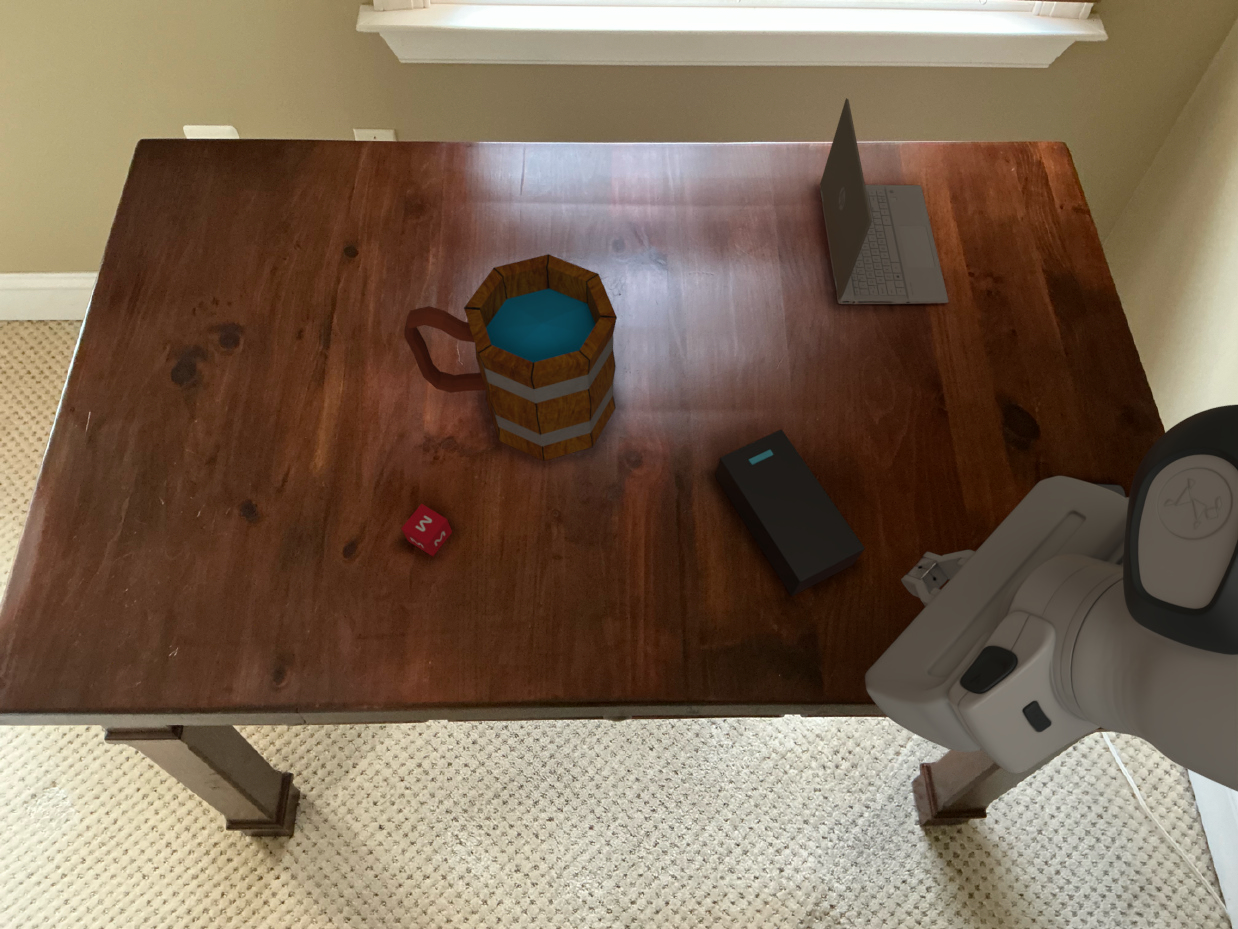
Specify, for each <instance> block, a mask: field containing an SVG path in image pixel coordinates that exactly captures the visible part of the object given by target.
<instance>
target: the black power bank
mask: <svg viewBox="0 0 1238 929" xmlns="http://www.w3.org/2000/svg"><path fill="white" fill-rule="evenodd" d="M714 478H715V479H716V480H717V482H718V484H719V485H720V487H721V488H722V490H723V491H724V493H725V495H726V496H727V498H728V499H729V501H730V503H731V504H732V506H733V507H734V509H735V510H736V512H737V513H738V515H739V516H740V518H741V520H742V521H743V523H744V524H745V526H746V527H747V530H748V531H749V532H750V533H751V536H752V537H753V539H754V541H756V543H757V545H758V546H759V548H760V549H761V552H762V553H763V554H764V556H765V557H766V559H767V560H768V562H769V564H770V565H771V567H772V568H773V570H774V572H775V573H776V575H777V577H778V578H779V580H780V582H782V584H783V586H784V587H785V589H786V590H787V592H788V593H789V595H790V596H791V597H794V596H796V595H798V594H799V593H801V592H803V591H805V590H807V589H809V588H812V587H813V586H815V585H817V584H819V583H822V582H823V581H825V580H827V579H829V578H830V577H832V576H835V575H836V574H838V573H840V572H842V571H844V570H845V569H848V568H850V567H852V566H854V565H855V563H857V560H858V559H859V558H860V556H861V555H862V554H863V552H864V551H865V550H866V547H865V546H864V545H863V543H862V542H861V541H860V539H859V538H858V536H857V534H856V533H855V532H854V531H853V529H852V527H851V526H850V524H849V523H848V522H847V521H846V519H845V518H844V516H843V514H842V513H841V512H840V511H839V509H838V507H837V506H836V505H835V503H834V502H833V500H832V499H831V498H830V496H829V495H828V493H827V492H826V491H825V489H824V488H823V486H822V485H821V483H820V482H819V480H818V479H817V477H816V476H815V475H814V473H813V472H812V470H811V469H810V467H809V466H808V464H807V463H806V462H805V460H804V458H803V457H802V456H801V455H800V453H799V452H798V451H797V449H796V447H795V446H794V445H793V443H792V441H790V439H789V437H788V436H787V435H786V433H785V432H784V430H783V429H782V428H781V429H779V430H777V431H774V432H772V433H769V434H768V435H765V436H763V437H761V438H759V439H757V440H755V441H752V442H750V443H748V444H746V445H744V446H742V447H739V448H738V449H737V448H736V450H734V451H731V452H729V453H727V454H725V455H722V456H720V457H719V460H718V463H717V468H716V471H715V476H714Z"/></svg>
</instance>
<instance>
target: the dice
mask: <svg viewBox="0 0 1238 929" xmlns="http://www.w3.org/2000/svg"><path fill="white" fill-rule="evenodd" d="M401 531H402V533H403V534H404V537H405V538H406V540H407V542H409V543H410V544H412V545H413V546H415V547H417V548H418V549H420V550H422V551H423V552H424V553H426V554H428V555H429V556H431V557H434V556H435V555H436V554H437V553H438V551H439V550H440V549H441V547H442V546H443V545H444V543H445V542H446V541H447V540H448V538H449V537H451V536H450V535H451V534H452V533H453V530H452V527H451V526H450V523H449V521H448V518H446V517H444V516H443V515H441V514H440V513H438V512H437V511H436V510H435V511H434V510H433V509H432V508H430V507H428V506H426V505H425V504H423V503H421V504H420V505H419V506H418V508H416V510H415V511H414V512H413V513H412V514H411V516H410V517H409V518H408V519H407V520H406V522H405V523H404V524H403V525H402V526H401Z"/></svg>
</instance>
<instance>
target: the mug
mask: <svg viewBox="0 0 1238 929" xmlns="http://www.w3.org/2000/svg"><path fill="white" fill-rule="evenodd" d="M463 310H464V313H465V316H466V319H467V321H464V320H461V319H460V318H458V317H456V316H454V315H453V314H451V313H449V312H448V311H446V310H444V309H440V308H437V307H433V306H429V305H427V306H424V307H420V308H416V309H415V308H414V309H411V310H409V312H408V314H407V316H406V320H405V325H404V332H403V333H404V339H405V340H406V343H407V345H408V346H409V348H410V350H411V352H412V354H413V356H414V358H415V361H416V365H417V367H418V369H419V371H420V373H421V376H422V377H423V379H424V380H426V381H427V382H428V383H429V384H430V385H432V387H434V388H435V389H436V390H440V391H444V392H447V393H461V392H477V391H485V402H486V404H487V407H488V410H489V413H490V417H491V420H492V423H493V426H494V430H495V433H496V436H497V440H498V441H499V442H500V443H503V444H505V445H507V446H510V447H512V448H514V449H516V450H518V451H521V452H523V453H525V454H527V455H529V456H532V457H534V458H536V459H538V460H541V461H543V462H545V461H549V460H551V459H555V458H560V457H563V456H566V455H569V454H573V453H577V452H580V451H583V450H587V449H591V448H593V447H594V446H595V444H596V443H597V441H598V440H599V437H600V435H601V434H602V432H603V430H604V429H605V427H606V425H607V423H608V422H609V420H610V418H611V417H612V415H613V413H614V412H615V410H616V409H617V408H616V403H615V399H614V379H615V373H616V368H617V367H616V358H615V352H614V332H615V329H616V323H617V320H618V319H617V318H618V317H617V314H616V312H615V309H614V307H613V304H612V302H611V300H610V298H609V295H608V293H607V291H606V288H605V285H604V283H603V281H602V278H601V276H600V274H599V273H598V272H595V271H592V270H591V269H587V268H585V267H583V266H579V265H577V264H575V263H572V262H570V261H567V260H564V259H563V258H560V257H557V256H554V255H552V254H543V255H539V256H535V257H531V258H527V259H524V260H519V261H514V262H511V263H507V264H503V265H499V266H495V267H493V268H492V269H491V270H490V271H489V273H488V275H487V276H486V277H485V278H484V280H483V281H482V283H481V284H480V285H479V287H478V288H477V289H476V291H475V292H474V293H473V294H472V296H471V298H470V299H469V300H468V302H467V303H466V304H465V306H464V307H463ZM423 326H427V327H430V328H433V329H437V330H441V331H442V332H444V333H446V334H447V335H449V336H451V337H452V338H454V339H456V340H458V341H461V342H468V343H469V342H470V343H474V348H475V359H476V362H477V365H478V368H479V372H468V373H461V374H460V373H459V374H452V373H449V372H444V371H442V370H440V369H439V368H438V367H437V366H436V365H435V364H434V362H433V359H432V357H431V354H430V352H429V349H428V346H427V343H426V341H425V339H424V337H423V335H422V334H421V332H420V330H419V327H423Z"/></svg>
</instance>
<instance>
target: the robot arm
mask: <svg viewBox="0 0 1238 929" xmlns="http://www.w3.org/2000/svg"><path fill="white" fill-rule="evenodd" d="M1092 483H1093V482H1088V481H1085V480H1081V479H1078V478H1074V477H1070V476H1065V475H1055V476H1051V477H1047V478H1044V479H1041V480H1039V481H1038V482H1037V483H1036V484H1035V485H1034V486H1033V487H1032V488H1031V489H1030V491H1029V492H1028V493H1027V494H1026V495H1025V496H1024V497H1023V499H1021V501H1020V502H1019V503H1018V504H1017V505H1016V506H1015V507H1014V508H1013V510H1011V512H1010V513H1009V514H1008V515H1007V516H1006V517H1005V518H1004V519H1003V520H1002V522H1001V523H1000V524H999V525H998V526H997V527H996V528H995V529H994V530H993V532H992V533H991V534H990V535H988V537H987V538H986V539H985V541H984V542H982V544H981V545H980V546H979V547H978V548H977V549H976V550H975V551H974V550H972V549H965V550H960V551H955V552H950V553H946V554H942V555H940V554H936V553H933V552H931V551H926V552H925V553H924V554H923V555H922V556H921V558H919V559H918V561H917V562H916V563H915V564H914V565H913V566H912V568H911V569H909V571H907V573H905V575H904V576H903V577H902V578H901V579H900V581H901V583H902V585H903V586H904V588H905V589H906V590H907V591H908V592H909V593H910V594H911V595H912V596H913V597H916V598H919V599H920V601H921V603H922V604H923V606H924V608H923V609H922V610H921V611H920V612H919V613H918V615H917V616H915V618H914V619H913V620H912V621H911V622H910V624H908V625H907V627H905V629H904V630H903V631H902V632H901V633H900V634H899V636H898V637H896V639H894V641H893V642H892V643H891V644H890V646H889V647H888V648H887V649H886V650H884V652H883V653H882V654H881V655H880V657H878V659H877V660H876V661H875V662H874V663H873V664H872V665H871V666H870V667H869V668H868V669H867V671H866V673H865V674H864V683H865V689H866V692H867V694H868V695H869V697H870V698H871V700H872V701H873V702H874V704H875V705H876V706H877V707H878V708H879V709H880V711H881V712H883V714H884V715H885V716H886V717H887V718H888V719H890V720H891V721H892V722H894V723H895V724H897V725H898V726H900V727H902V728H903V729H905V730H907V731H909V732H911V733H912V734H914V735H916V736H918V737H920V738H922V739H924V740H926V741H928V742H931V743H933V744H934V745H935V744H936V745H938V746H940V747H942V748H945V749H947V750H951V751H955V752H959V753H976V752H980V751H982V752H983V753H984V754H985V755H986V756H987V757H988V758H989V759H990V760H991V761H992V762H993V763H995V765H997V766H998V767H999V768H1001V769H1002V770H1004V771H1005V772H1007V773H1009V774H1014V775H1016V774H1017V775H1018V774H1022V773H1024V772H1026V771H1028V770H1030V769H1031V768H1033V767H1034V766H1036V765H1037V764H1039V763H1040V762H1042V761H1043V760H1045V759H1047V757H1049V756H1052V755H1053V754H1054V753H1055V752H1057V751H1059V750H1061V749H1062V748H1064V747H1066V746H1067V745H1069V744H1071V743H1072V742H1074V741H1076V740H1078V739H1080V738H1082V737H1083V736H1085V735H1087V734H1090V733H1092V732H1094V731H1096V730H1098V729H1100V728H1101V729H1104V730H1106V731H1109V732H1113V733H1116V734H1122V735H1129V736H1134V737H1137V738H1140V739H1141V740H1144V741H1145V742H1147V744H1150V745H1151V746H1153V747H1154V748H1155V749H1156V750H1157V751H1158V752H1159V753H1161V755H1163V756H1164V757H1166V758H1167V759H1168V760H1170V761H1171V762H1173V763H1174V764H1176V765H1179V766H1180V767H1183V768H1184V769H1187V770H1189V771H1191V772H1193V773H1195V774H1197V775H1199V776H1201V777H1204V778H1206V779H1208V780H1210V781H1212V782H1214V783H1217V784H1219V785H1221V786H1224V787H1226V788H1228V789H1230V790H1233V791H1235V792H1237V793H1238V404H1227V405H1220V406H1216V407H1211V408H1208V409H1205V410H1201V411H1199V412H1197V413H1194V414H1192V415H1190V416H1188V417H1186V418H1184V419H1183V420H1181V421H1179V422H1177V423H1176V424H1174V425H1173V426H1172V427H1171V428H1169V429H1168V430H1166V431H1165V432H1164V433H1163V434H1162V435H1161V436H1160V437H1159V438H1158V439H1157V440H1156V441H1155V442H1154V443H1153V444H1152V445H1151V447H1150V448H1149V449H1148V450H1147V452H1146V453H1145V454H1144V456H1143V458H1142V459H1141V461H1140V463H1139V465H1138V466H1137V468H1136V472H1135V473H1134V476H1133V479H1132V483H1131V486H1130V489H1129V494H1128V497H1127V496H1126V498H1125V497H1123V496H1122V495H1120V494H1118V493H1116V492H1114V491H1111V490H1109V489H1106V488H1103V487H1101V486H1098V485H1095V484H1092ZM946 582H947V583H946ZM943 585H944V586H943ZM941 587H942V588H941Z"/></svg>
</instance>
